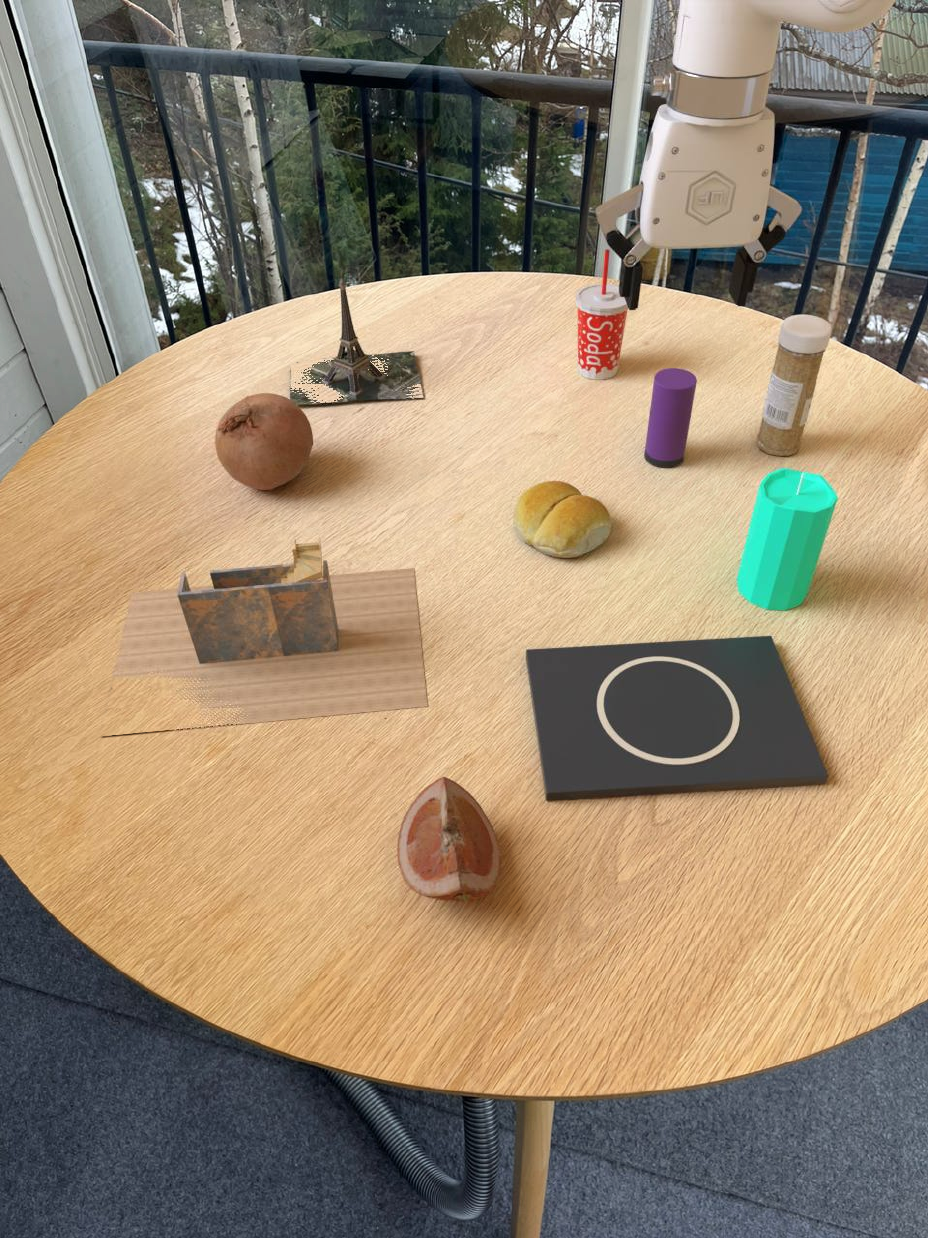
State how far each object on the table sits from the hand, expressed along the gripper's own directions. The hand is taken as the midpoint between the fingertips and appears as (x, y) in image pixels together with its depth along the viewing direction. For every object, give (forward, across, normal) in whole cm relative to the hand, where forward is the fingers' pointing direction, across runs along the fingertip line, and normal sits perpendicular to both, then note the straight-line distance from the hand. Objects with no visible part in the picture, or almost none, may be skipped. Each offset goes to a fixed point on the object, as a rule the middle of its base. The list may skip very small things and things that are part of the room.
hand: (683, 301), depth 85 cm
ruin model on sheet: (+17, -38, -24) cm, 48 cm away
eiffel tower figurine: (+17, -32, +18) cm, 40 cm away
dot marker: (+17, 0, 0) cm, 17 cm away
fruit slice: (+17, -24, -46) cm, 55 cm away
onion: (+17, -40, 0) cm, 43 cm away
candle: (+17, +6, -20) cm, 27 cm away
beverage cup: (+17, -4, +18) cm, 25 cm away
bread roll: (+17, -12, -11) cm, 23 cm away
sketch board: (+17, -6, -34) cm, 39 cm away
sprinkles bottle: (+17, +12, +1) cm, 21 cm away
